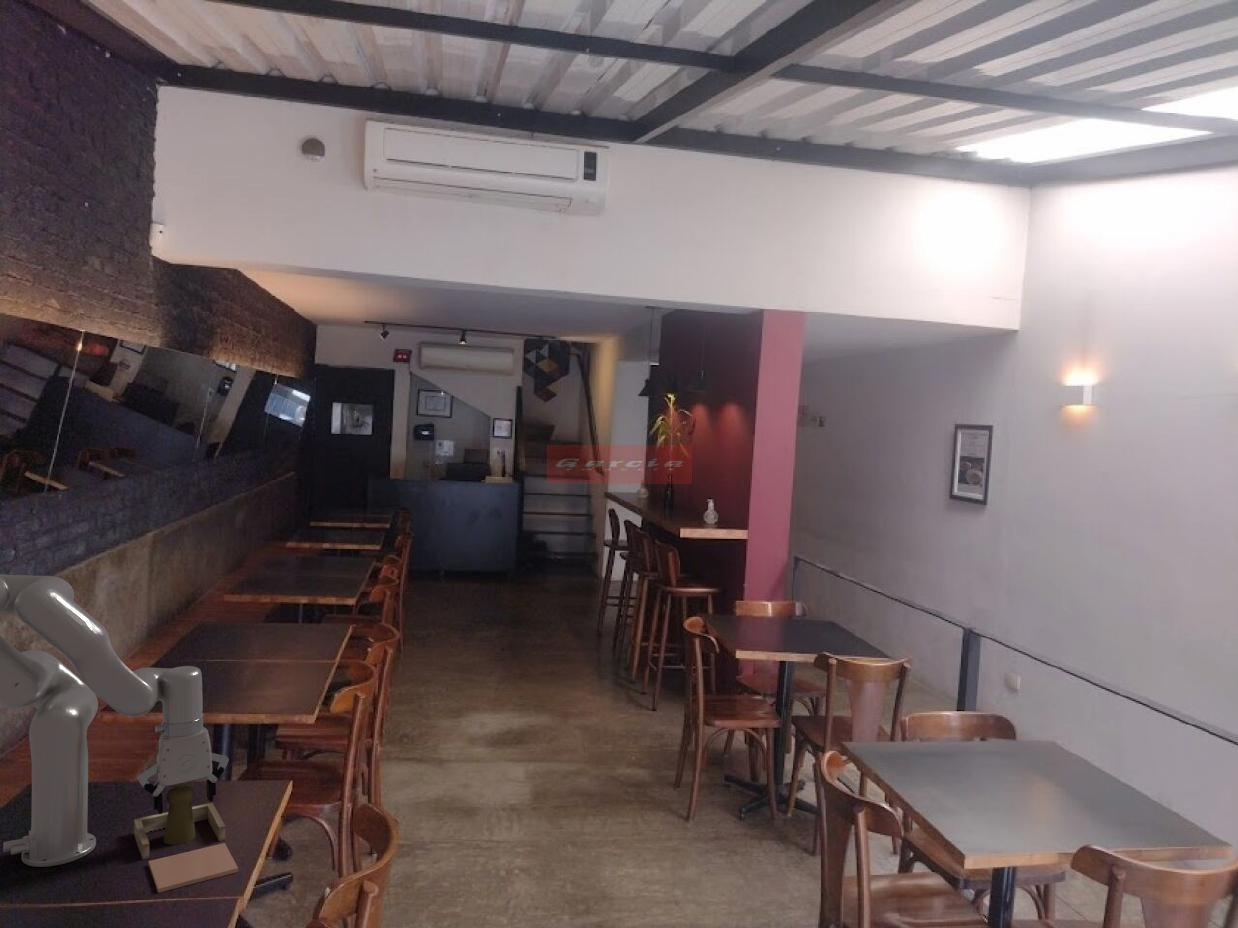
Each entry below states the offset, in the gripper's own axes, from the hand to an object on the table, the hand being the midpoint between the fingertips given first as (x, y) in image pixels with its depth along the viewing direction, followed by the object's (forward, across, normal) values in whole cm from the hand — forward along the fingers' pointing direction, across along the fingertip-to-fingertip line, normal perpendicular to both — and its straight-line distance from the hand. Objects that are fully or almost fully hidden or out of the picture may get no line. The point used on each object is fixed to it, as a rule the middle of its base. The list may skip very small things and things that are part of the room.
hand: (185, 805), depth 179 cm
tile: (+7, -1, -15) cm, 16 cm away
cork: (+7, -1, 0) cm, 7 cm away
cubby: (+7, -1, 0) cm, 7 cm away
